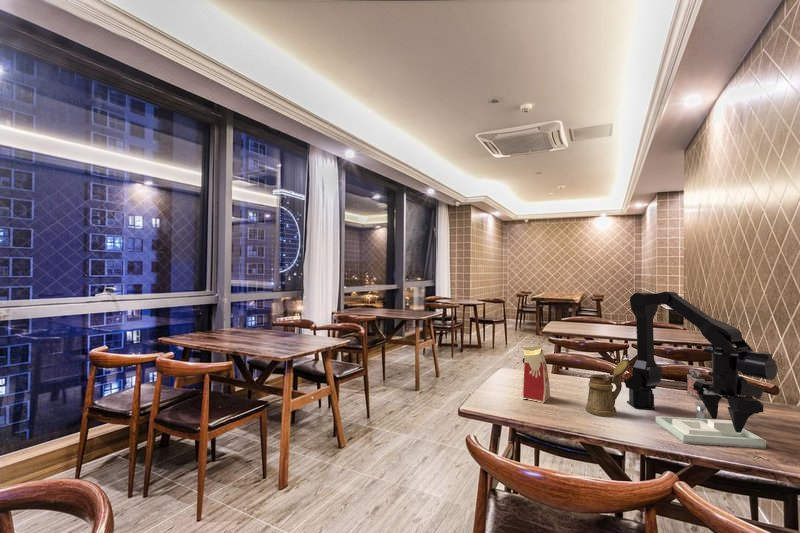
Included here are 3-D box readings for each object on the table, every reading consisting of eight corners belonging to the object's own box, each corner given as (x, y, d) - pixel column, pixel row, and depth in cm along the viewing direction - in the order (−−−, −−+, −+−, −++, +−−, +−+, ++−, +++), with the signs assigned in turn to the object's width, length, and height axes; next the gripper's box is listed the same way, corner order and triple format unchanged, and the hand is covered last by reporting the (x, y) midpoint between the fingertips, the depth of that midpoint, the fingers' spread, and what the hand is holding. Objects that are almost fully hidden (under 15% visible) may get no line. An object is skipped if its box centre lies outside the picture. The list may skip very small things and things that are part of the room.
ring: (689, 437, 102) (689, 424, 102) (672, 425, 110) (672, 413, 110) (745, 440, 100) (745, 427, 100) (723, 428, 108) (723, 416, 108)
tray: (683, 443, 100) (683, 435, 100) (655, 423, 113) (655, 416, 113) (766, 448, 97) (765, 440, 97) (727, 427, 110) (727, 420, 110)
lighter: (707, 401, 134) (707, 373, 134) (697, 400, 134) (696, 373, 135) (694, 394, 142) (694, 368, 142) (684, 393, 142) (684, 367, 142)
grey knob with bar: (699, 421, 115) (699, 405, 115) (692, 417, 118) (692, 401, 118) (708, 421, 114) (708, 405, 115) (701, 417, 118) (700, 402, 118)
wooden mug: (636, 419, 116) (636, 362, 117) (591, 416, 118) (590, 360, 119) (623, 408, 125) (623, 356, 125) (581, 406, 127) (581, 354, 127)
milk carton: (550, 396, 137) (550, 343, 137) (545, 404, 129) (545, 347, 130) (525, 392, 142) (525, 340, 142) (519, 399, 134) (519, 344, 134)
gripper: (786, 381, 94) (787, 442, 94) (731, 363, 113) (732, 414, 112) (738, 379, 96) (739, 439, 96) (692, 362, 114) (692, 412, 114)
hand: (725, 425), depth 104 cm, fingers open, 9 cm apart
